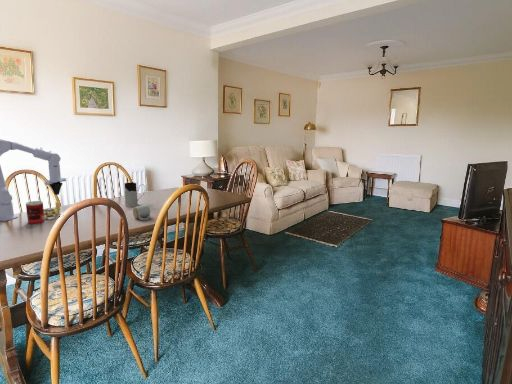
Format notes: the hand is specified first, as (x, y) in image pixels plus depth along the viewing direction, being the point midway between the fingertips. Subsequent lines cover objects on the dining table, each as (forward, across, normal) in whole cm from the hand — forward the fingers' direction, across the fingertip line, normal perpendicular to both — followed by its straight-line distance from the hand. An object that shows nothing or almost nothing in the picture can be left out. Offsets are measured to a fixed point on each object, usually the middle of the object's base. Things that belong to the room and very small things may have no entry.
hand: (56, 194), depth 196 cm
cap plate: (+10, -10, -3) cm, 15 cm away
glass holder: (+11, +29, -35) cm, 47 cm away
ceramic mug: (+11, +2, -56) cm, 57 cm away
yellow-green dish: (+9, -8, -3) cm, 13 cm away
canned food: (+11, -22, -6) cm, 25 cm away
